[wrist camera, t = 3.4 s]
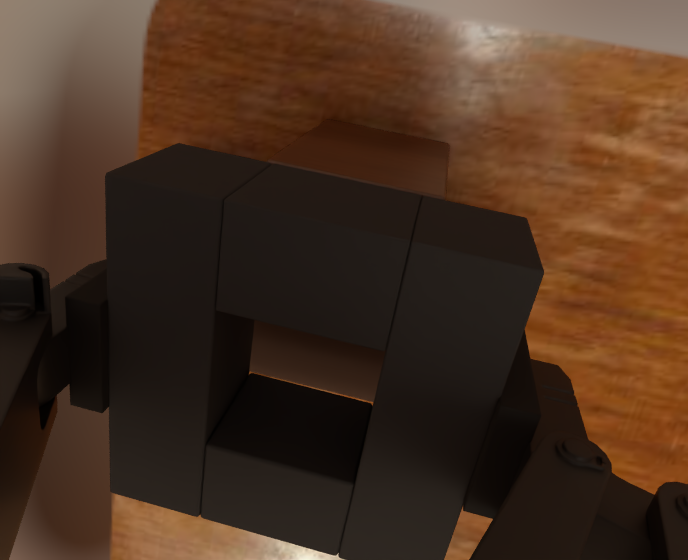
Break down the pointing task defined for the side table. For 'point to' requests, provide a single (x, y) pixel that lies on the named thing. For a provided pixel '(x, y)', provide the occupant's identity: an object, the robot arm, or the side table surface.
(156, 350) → the dark square frame
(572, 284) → the side table surface
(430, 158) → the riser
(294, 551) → the side table surface
